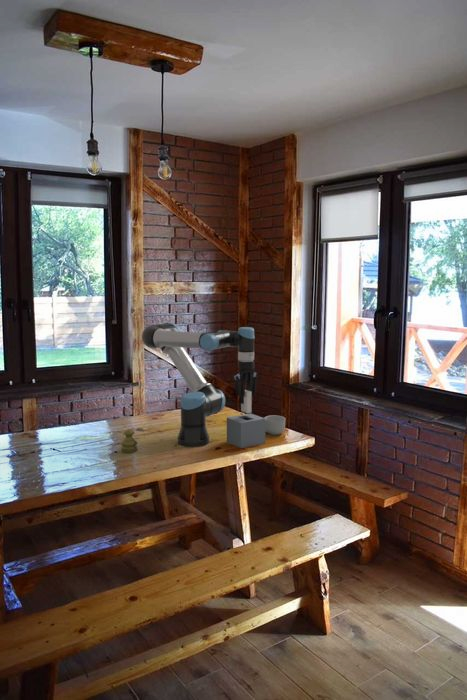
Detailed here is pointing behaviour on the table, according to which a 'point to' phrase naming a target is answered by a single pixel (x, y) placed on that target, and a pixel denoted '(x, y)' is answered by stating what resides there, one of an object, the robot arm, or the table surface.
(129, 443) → the olive chess piece
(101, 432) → the table surface
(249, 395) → the white rectangular bar
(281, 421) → the teacup
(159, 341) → the robot arm
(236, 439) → the box
